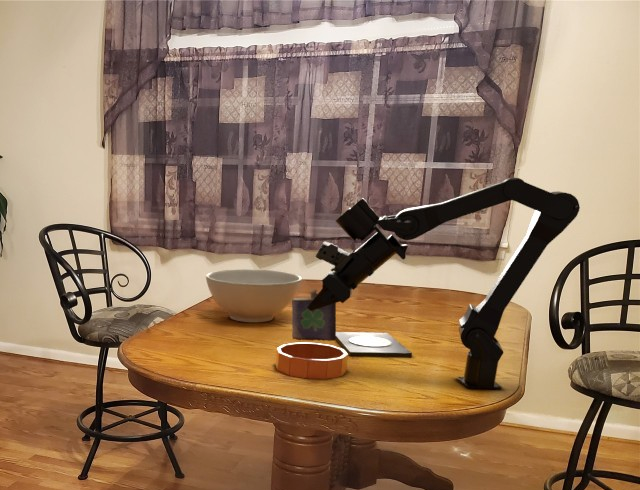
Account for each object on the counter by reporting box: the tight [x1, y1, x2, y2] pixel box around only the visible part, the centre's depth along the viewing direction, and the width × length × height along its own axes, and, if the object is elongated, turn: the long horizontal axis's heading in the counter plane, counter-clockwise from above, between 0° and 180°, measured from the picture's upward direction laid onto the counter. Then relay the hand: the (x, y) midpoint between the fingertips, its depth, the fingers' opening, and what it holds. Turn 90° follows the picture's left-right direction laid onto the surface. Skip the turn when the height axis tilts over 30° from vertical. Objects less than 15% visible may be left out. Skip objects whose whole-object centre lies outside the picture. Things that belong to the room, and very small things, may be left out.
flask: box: [291, 289, 337, 342], centre depth 147 cm, size 9×3×11 cm, turn 64°
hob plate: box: [335, 331, 413, 358], centre depth 168 cm, size 20×14×1 cm
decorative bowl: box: [205, 268, 303, 323], centre depth 197 cm, size 27×27×12 cm
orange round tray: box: [274, 342, 349, 380], centre depth 149 cm, size 15×15×4 cm
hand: (309, 307), depth 147 cm, fingers closed on flask, 3 cm apart
